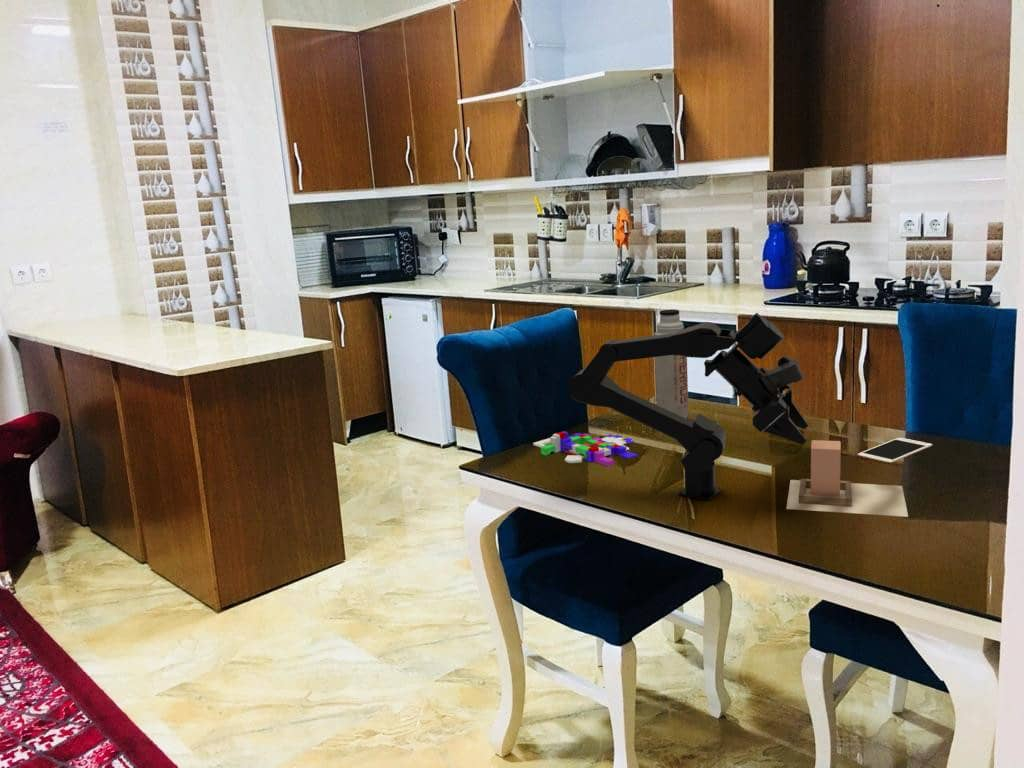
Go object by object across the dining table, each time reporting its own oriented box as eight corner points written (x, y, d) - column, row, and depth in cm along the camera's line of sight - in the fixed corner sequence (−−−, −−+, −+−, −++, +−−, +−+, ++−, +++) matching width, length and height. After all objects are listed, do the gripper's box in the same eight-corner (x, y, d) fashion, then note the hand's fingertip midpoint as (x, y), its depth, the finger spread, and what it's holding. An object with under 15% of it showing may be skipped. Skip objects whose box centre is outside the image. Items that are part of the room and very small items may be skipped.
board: (786, 513, 151) (786, 500, 151) (790, 484, 165) (790, 472, 164) (908, 522, 144) (908, 508, 144) (901, 490, 158) (902, 478, 157)
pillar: (810, 500, 154) (811, 448, 152) (811, 490, 159) (811, 440, 156) (839, 501, 152) (840, 449, 150) (839, 491, 157) (840, 441, 155)
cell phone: (933, 446, 181) (933, 444, 181) (890, 464, 173) (890, 461, 172) (899, 439, 188) (899, 437, 187) (856, 456, 179) (856, 453, 179)
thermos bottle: (694, 417, 214) (692, 309, 208) (668, 423, 211) (665, 314, 205) (676, 411, 222) (673, 306, 215) (651, 416, 219) (647, 310, 212)
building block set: (659, 451, 192) (659, 433, 191) (592, 474, 181) (591, 454, 180) (588, 430, 212) (587, 413, 211) (523, 450, 201) (522, 432, 200)
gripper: (772, 357, 144) (839, 421, 143) (779, 335, 161) (839, 392, 159) (725, 400, 149) (790, 462, 147) (737, 374, 165) (795, 430, 164)
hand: (805, 434), depth 154 cm, fingers open, 9 cm apart
